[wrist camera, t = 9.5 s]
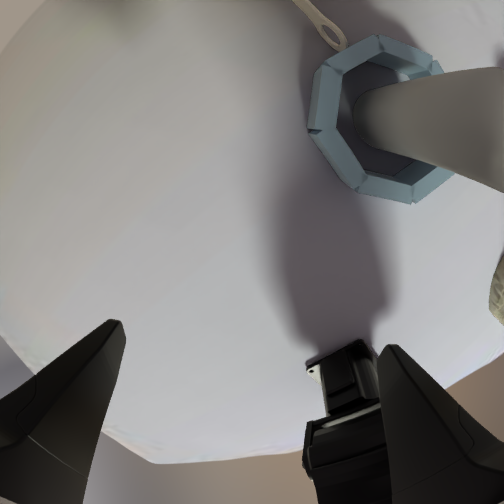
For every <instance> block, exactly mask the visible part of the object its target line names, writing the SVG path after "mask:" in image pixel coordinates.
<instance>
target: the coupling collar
mask: <svg viewBox="0 0 504 504" xmlns="http://www.w3.org/2000/svg"><path fill="white" fill-rule="evenodd" d="M432 57H433V56H432V55H429V54H427V53H425V52H423V51H421V50H419V49H416V48H414V47H412V46H410V45H407V44H405V43H402V42H400V41H397V40H395V39H392V38H389V37H387V36H384V35H381V34H379V35H377V36H375V34H373V35H371V36H369V37H367V38H365V39H363V40H361V41H359V42H357V43H356V44H354V45H352V46H350V47H348V48H346V49H344V50H343V51H341V52H339V53H337V54H336V55H334V56H332V57H330V58H329V59H327V60H326V61H325V62H324V63H323V64H322V65H321V66H320V67H319V68H318V69H317V71H316V72H315V73H314V76H313V84H312V92H311V100H310V108H309V115H308V122H307V129H313V131H311V132H310V133H308V134H309V136H310V137H311V138H312V140H313V141H314V142H315V144H316V145H317V146H318V148H319V149H320V151H321V152H322V153H323V155H324V156H325V158H326V159H327V161H328V162H329V163H330V165H331V166H332V168H333V169H334V171H335V172H336V174H337V175H338V177H339V178H340V180H341V181H343V182H344V183H345V184H347V185H348V186H349V187H351V188H352V189H353V190H355V191H356V192H358V193H361V194H366V195H370V196H375V197H380V198H384V199H389V200H393V201H398V202H402V203H406V204H410V205H411V203H412V202H414V203H417V202H419V201H420V200H421V199H423V198H424V197H425V196H427V195H428V194H429V193H431V192H432V191H433V190H434V189H436V188H437V187H438V186H440V185H441V184H442V183H444V182H445V181H446V180H447V179H449V178H450V177H451V176H453V175H454V174H455V173H454V172H452V171H449V170H446V169H443V168H440V167H438V166H435V165H432V164H429V163H426V162H423V161H419V160H415V161H414V162H413V163H411V164H410V165H409V166H407V167H406V168H404V169H403V170H402V171H400V172H399V173H397V174H396V175H395V176H393V177H392V176H388V175H384V174H380V173H376V172H372V171H367V170H363V168H362V167H361V165H360V163H359V162H358V160H357V159H356V157H355V155H354V154H353V152H352V151H351V149H350V148H349V146H348V145H347V143H346V142H345V140H344V139H343V137H342V136H341V135H340V133H339V132H338V130H337V129H336V123H337V116H338V108H339V101H340V93H341V85H342V76H343V74H345V73H346V72H348V71H350V70H351V69H353V68H355V67H356V66H358V65H360V64H362V63H363V62H365V61H369V62H372V63H376V64H379V65H382V66H384V67H387V68H390V69H393V70H396V71H398V72H401V73H404V74H406V75H408V76H409V78H410V80H413V79H417V78H422V77H427V76H432V75H437V74H443V73H444V71H443V70H442V68H441V66H440V65H439V63H438V61H437V60H434V61H432Z"/></svg>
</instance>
